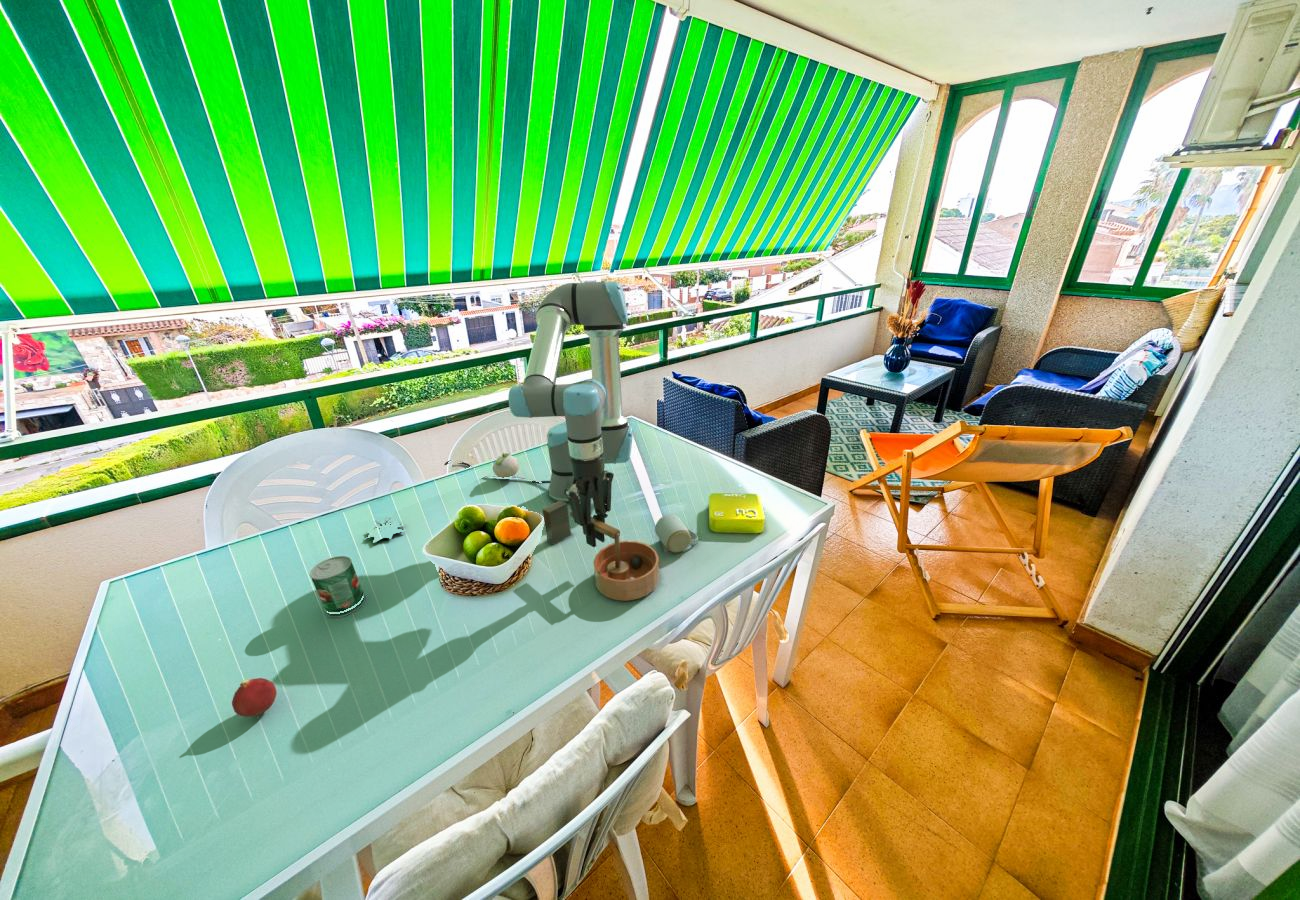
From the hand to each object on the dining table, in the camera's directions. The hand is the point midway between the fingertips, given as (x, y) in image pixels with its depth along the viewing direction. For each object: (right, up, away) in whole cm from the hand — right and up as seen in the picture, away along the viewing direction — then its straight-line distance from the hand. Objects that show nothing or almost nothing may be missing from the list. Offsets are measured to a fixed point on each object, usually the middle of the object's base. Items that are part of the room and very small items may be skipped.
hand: (595, 541), depth 112 cm
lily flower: (-63, -2, +21) cm, 66 cm away
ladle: (+1, -6, +1) cm, 6 cm away
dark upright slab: (-12, -2, +15) cm, 19 cm away
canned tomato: (-57, -14, -6) cm, 59 cm away
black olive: (+10, -5, +1) cm, 11 cm away
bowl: (+8, -9, -2) cm, 12 cm away
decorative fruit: (-36, +12, +49) cm, 62 cm away
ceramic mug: (+21, -3, +11) cm, 24 cm away
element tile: (+38, +2, +21) cm, 43 cm away
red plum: (-56, -24, -30) cm, 68 cm away
